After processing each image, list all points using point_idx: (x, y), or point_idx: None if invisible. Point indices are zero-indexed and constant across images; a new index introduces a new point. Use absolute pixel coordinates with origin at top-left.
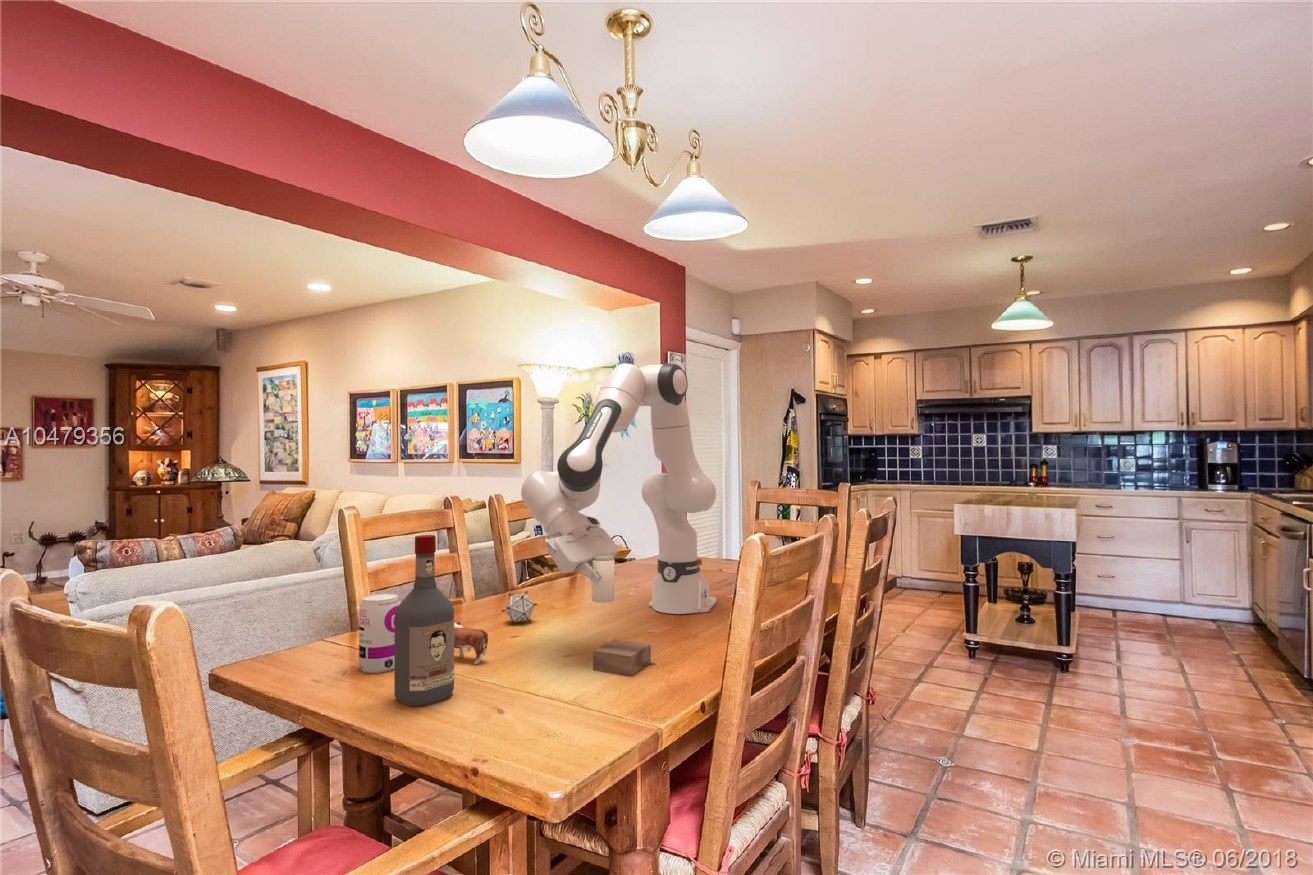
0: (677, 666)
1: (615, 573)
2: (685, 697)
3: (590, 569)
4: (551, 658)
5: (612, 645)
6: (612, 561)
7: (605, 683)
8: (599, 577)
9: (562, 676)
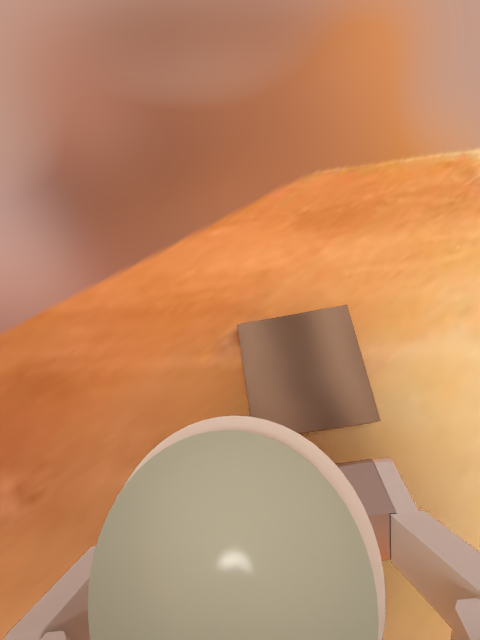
0: (228, 284)
1: None
2: (356, 187)
3: (464, 544)
4: None
5: (304, 404)
6: (227, 417)
7: (411, 337)
8: (365, 461)
9: (460, 459)
